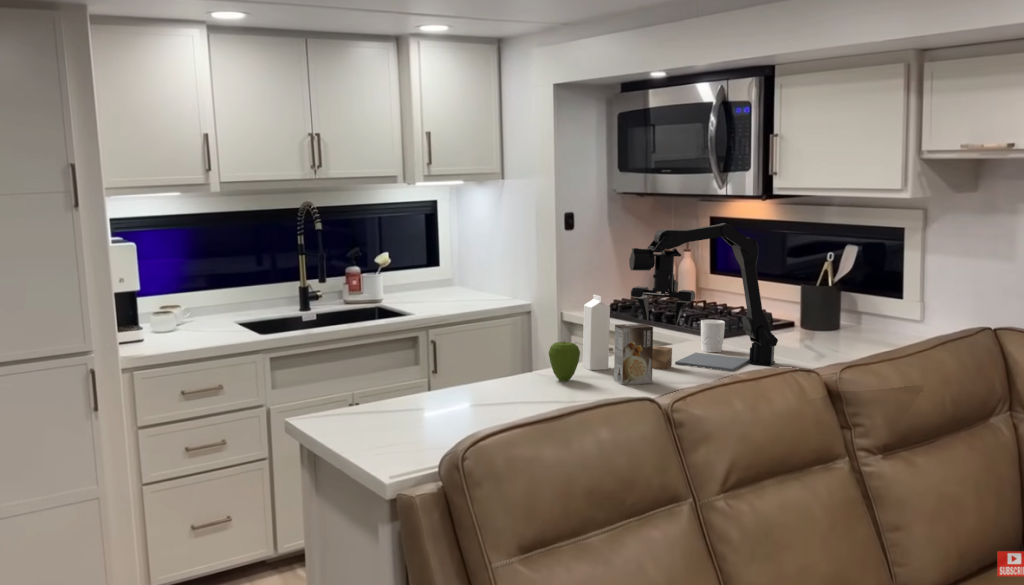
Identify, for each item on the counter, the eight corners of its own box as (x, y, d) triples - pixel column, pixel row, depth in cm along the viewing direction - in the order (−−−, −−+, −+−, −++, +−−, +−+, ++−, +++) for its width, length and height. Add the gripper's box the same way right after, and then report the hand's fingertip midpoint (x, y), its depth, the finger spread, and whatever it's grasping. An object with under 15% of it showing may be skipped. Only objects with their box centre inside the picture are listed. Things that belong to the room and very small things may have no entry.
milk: (600, 365, 266) (602, 293, 264) (608, 369, 261) (611, 296, 258) (581, 366, 265) (584, 294, 262) (589, 370, 259) (591, 296, 256)
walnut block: (671, 367, 265) (672, 347, 265) (665, 370, 261) (665, 350, 260) (656, 365, 268) (656, 346, 267) (649, 368, 264) (650, 348, 263)
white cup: (722, 349, 296) (723, 319, 294) (725, 353, 288) (726, 323, 287) (698, 348, 296) (699, 319, 295) (700, 352, 289) (702, 322, 287)
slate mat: (750, 361, 275) (750, 358, 275) (732, 371, 260) (732, 368, 260) (695, 354, 285) (695, 352, 285) (675, 364, 269) (675, 361, 269)
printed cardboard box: (643, 378, 249) (644, 323, 247) (652, 383, 243) (654, 326, 241) (613, 380, 246) (614, 324, 244) (621, 385, 240) (623, 327, 238)
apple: (584, 379, 247) (585, 339, 246) (570, 385, 240) (571, 343, 239) (557, 375, 252) (557, 336, 250) (543, 381, 244) (543, 340, 243)
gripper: (701, 270, 268) (698, 321, 270) (642, 267, 276) (640, 315, 278) (691, 273, 258) (689, 326, 260) (631, 269, 266) (629, 320, 268)
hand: (661, 321), depth 267 cm, fingers open, 9 cm apart
